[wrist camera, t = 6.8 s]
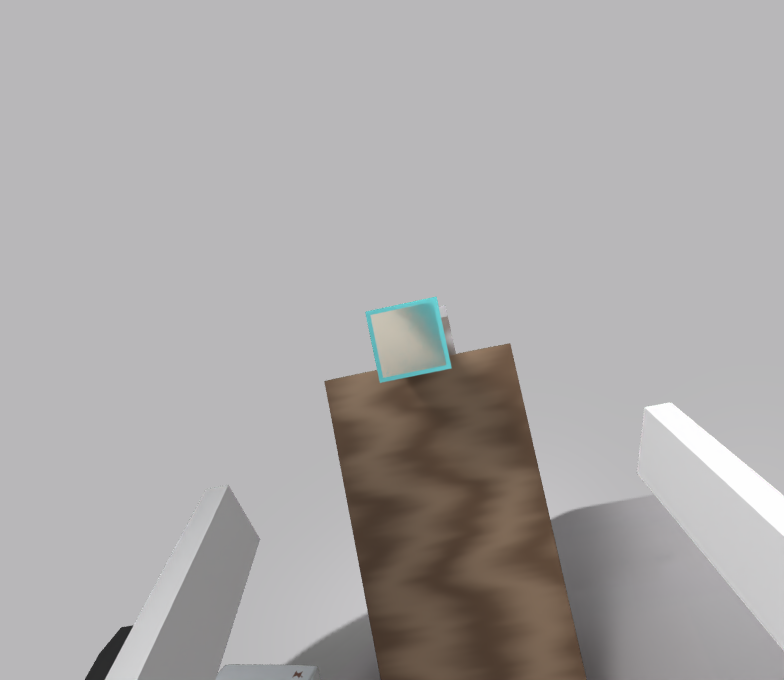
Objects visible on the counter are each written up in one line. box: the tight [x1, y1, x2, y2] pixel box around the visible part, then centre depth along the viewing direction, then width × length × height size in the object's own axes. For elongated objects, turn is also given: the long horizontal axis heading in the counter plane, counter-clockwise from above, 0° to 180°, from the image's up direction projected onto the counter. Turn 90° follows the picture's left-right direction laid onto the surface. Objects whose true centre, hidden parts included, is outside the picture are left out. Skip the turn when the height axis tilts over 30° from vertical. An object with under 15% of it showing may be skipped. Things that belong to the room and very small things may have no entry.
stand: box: [325, 305, 587, 680], centre depth 33 cm, size 14×14×34 cm
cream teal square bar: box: [366, 297, 452, 383], centre depth 28 cm, size 3×22×3 cm, turn 175°
